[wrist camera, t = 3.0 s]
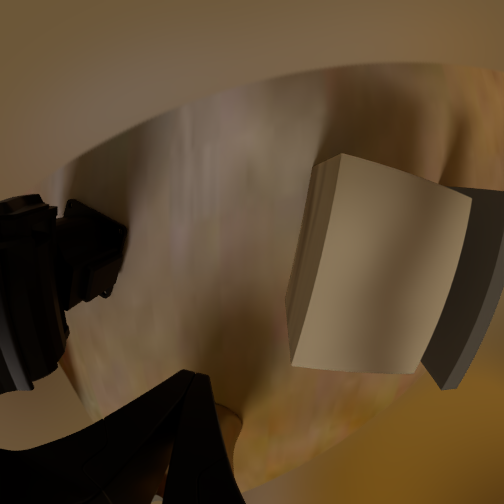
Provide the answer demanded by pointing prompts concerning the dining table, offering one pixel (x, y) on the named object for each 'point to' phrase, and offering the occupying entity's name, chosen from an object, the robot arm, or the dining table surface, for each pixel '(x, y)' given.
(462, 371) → the backstop board
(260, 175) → the dining table surface
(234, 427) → the beer glass
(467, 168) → the dining table surface
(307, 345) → the maple block
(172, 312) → the dining table surface
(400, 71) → the dining table surface
